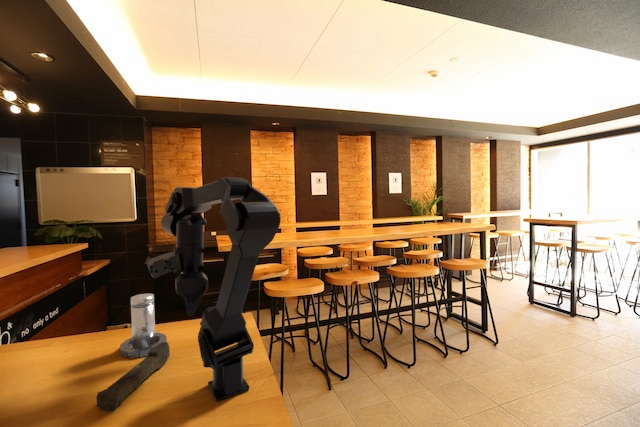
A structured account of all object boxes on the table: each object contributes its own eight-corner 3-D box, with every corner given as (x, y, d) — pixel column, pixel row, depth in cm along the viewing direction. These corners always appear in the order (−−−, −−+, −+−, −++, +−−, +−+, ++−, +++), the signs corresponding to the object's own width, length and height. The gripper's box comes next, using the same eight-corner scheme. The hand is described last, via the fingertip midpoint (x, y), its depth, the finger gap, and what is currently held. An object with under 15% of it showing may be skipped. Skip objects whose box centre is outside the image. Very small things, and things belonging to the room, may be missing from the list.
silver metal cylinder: (153, 350, 75) (151, 298, 75) (130, 354, 74) (127, 301, 73) (157, 341, 80) (155, 292, 79) (135, 344, 79) (133, 294, 78)
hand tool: (115, 414, 54) (114, 389, 54) (95, 412, 54) (94, 387, 54) (180, 358, 73) (179, 339, 72) (164, 357, 73) (164, 338, 73)
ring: (169, 350, 76) (168, 344, 76) (120, 362, 70) (120, 356, 70) (163, 334, 84) (163, 329, 84) (120, 344, 79) (119, 339, 78)
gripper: (151, 234, 75) (151, 294, 77) (148, 255, 59) (147, 331, 61) (200, 233, 80) (198, 290, 82) (209, 252, 64) (207, 323, 66)
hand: (188, 306), depth 73 cm, fingers open, 9 cm apart
